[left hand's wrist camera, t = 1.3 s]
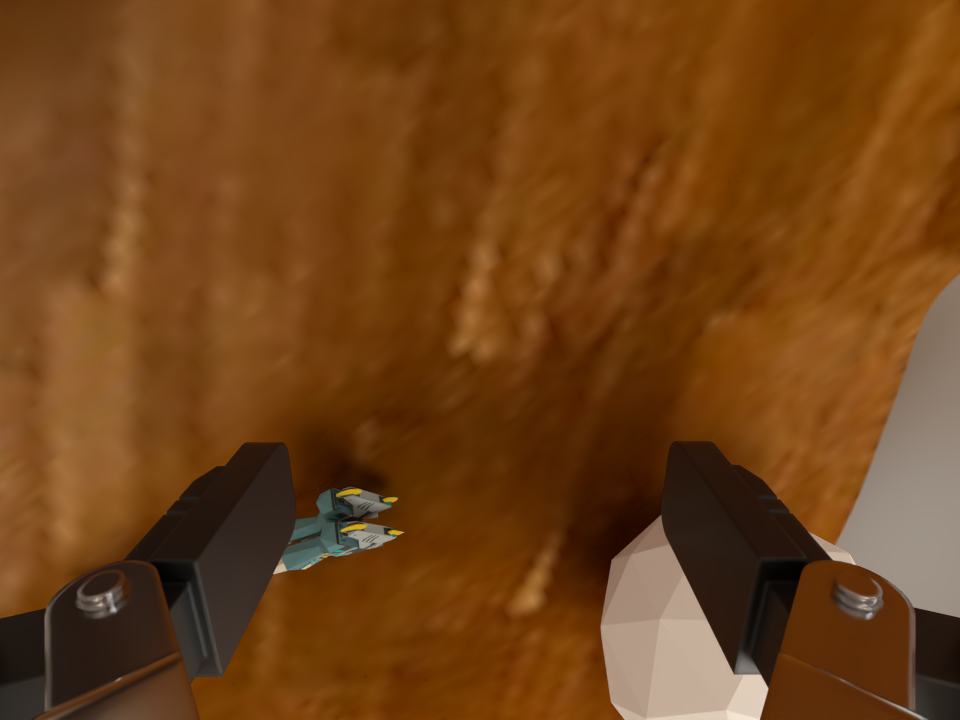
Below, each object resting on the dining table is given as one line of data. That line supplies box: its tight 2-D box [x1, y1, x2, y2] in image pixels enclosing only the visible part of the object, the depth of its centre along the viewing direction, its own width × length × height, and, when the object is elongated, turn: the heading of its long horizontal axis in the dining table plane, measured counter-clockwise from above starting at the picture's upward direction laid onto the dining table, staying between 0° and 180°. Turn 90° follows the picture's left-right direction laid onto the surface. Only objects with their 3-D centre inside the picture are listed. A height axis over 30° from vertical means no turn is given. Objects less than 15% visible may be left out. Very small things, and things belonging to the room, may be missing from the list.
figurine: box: [273, 487, 404, 574], centre depth 44 cm, size 7×8×30 cm
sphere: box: [601, 515, 856, 720], centre depth 39 cm, size 19×20×20 cm
